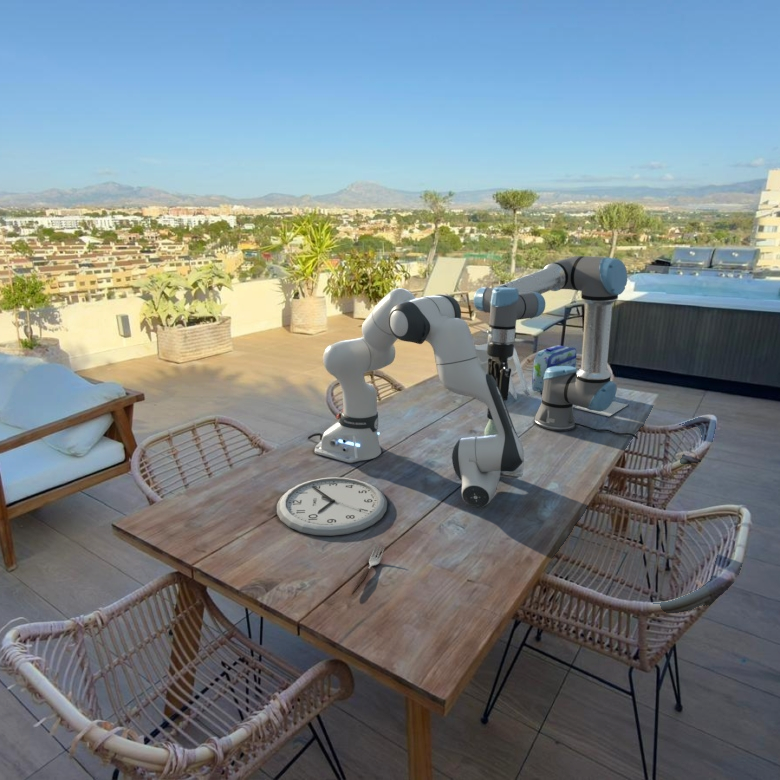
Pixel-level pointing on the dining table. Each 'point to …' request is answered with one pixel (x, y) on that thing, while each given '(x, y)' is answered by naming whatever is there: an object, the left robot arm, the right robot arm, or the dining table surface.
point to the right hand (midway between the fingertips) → (494, 417)
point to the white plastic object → (484, 357)
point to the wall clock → (331, 506)
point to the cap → (489, 415)
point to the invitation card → (609, 411)
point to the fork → (372, 562)
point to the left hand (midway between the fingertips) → (492, 453)
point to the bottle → (490, 428)
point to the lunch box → (551, 363)
